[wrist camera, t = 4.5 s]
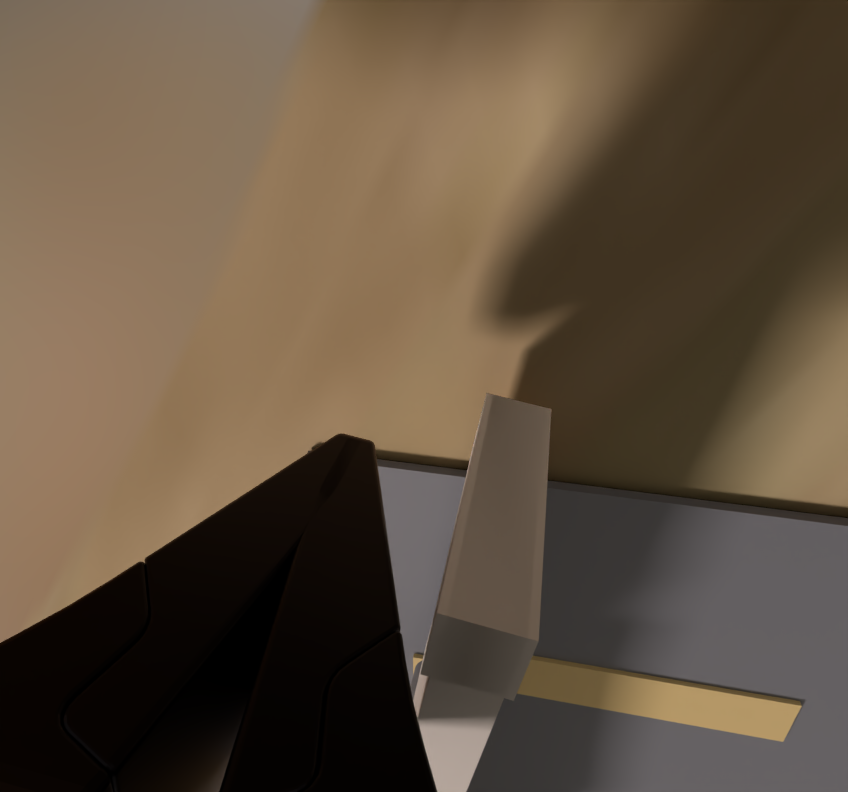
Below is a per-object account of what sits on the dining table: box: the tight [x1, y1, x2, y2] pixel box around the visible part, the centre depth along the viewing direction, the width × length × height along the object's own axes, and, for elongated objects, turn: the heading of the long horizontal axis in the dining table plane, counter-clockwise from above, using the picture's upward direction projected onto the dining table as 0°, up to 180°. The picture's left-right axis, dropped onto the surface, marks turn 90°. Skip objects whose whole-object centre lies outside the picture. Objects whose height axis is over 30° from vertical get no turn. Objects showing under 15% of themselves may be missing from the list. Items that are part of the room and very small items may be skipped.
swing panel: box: [411, 393, 551, 792], centre depth 10 cm, size 8×1×4 cm, turn 171°
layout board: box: [307, 451, 848, 792], centre depth 14 cm, size 13×12×1 cm
